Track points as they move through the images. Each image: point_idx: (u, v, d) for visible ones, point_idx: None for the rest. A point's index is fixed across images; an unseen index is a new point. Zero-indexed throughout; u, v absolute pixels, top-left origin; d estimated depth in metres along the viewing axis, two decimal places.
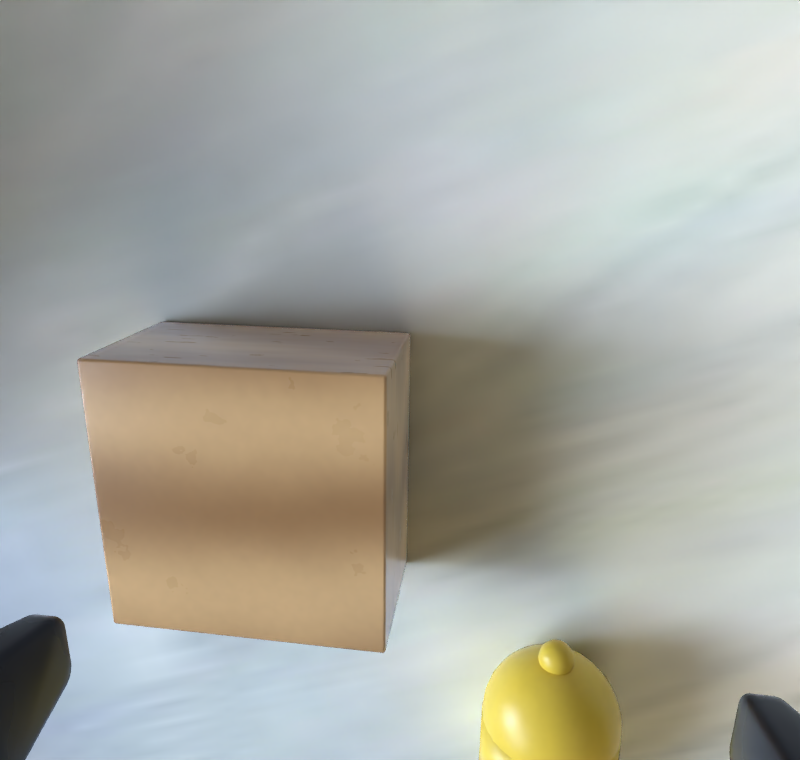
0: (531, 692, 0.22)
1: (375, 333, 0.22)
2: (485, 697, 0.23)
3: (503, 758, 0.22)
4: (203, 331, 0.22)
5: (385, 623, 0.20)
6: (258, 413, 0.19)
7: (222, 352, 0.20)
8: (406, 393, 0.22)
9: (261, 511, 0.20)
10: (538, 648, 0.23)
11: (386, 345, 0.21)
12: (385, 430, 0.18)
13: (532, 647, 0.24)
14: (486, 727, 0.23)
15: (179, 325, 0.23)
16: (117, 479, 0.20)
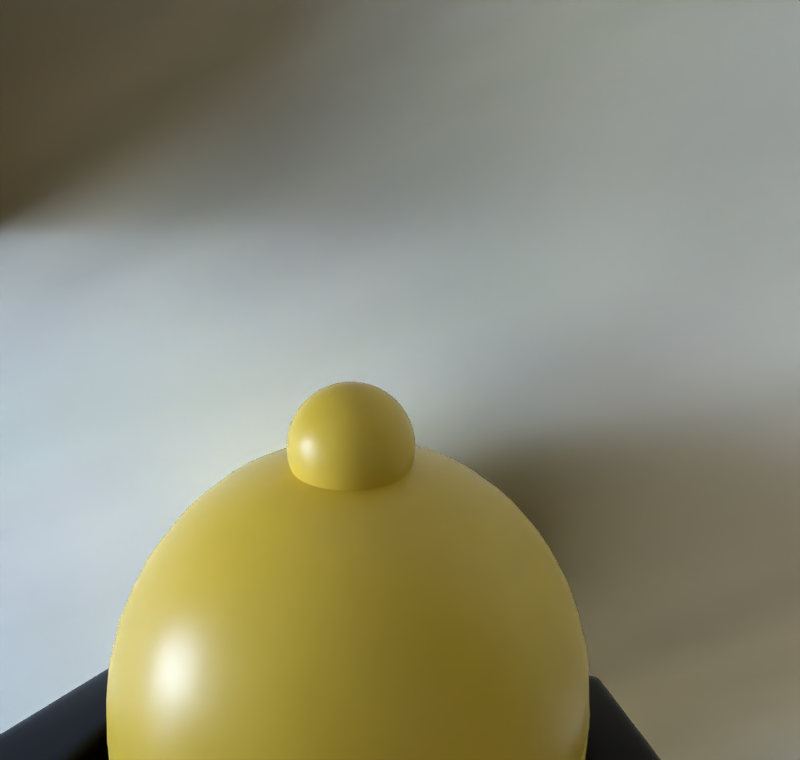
0: (225, 551, 0.05)
1: None
2: None
3: None
4: None
5: None
6: None
7: None
8: None
9: None
10: None
11: None
12: None
13: None
14: None
15: None
16: None
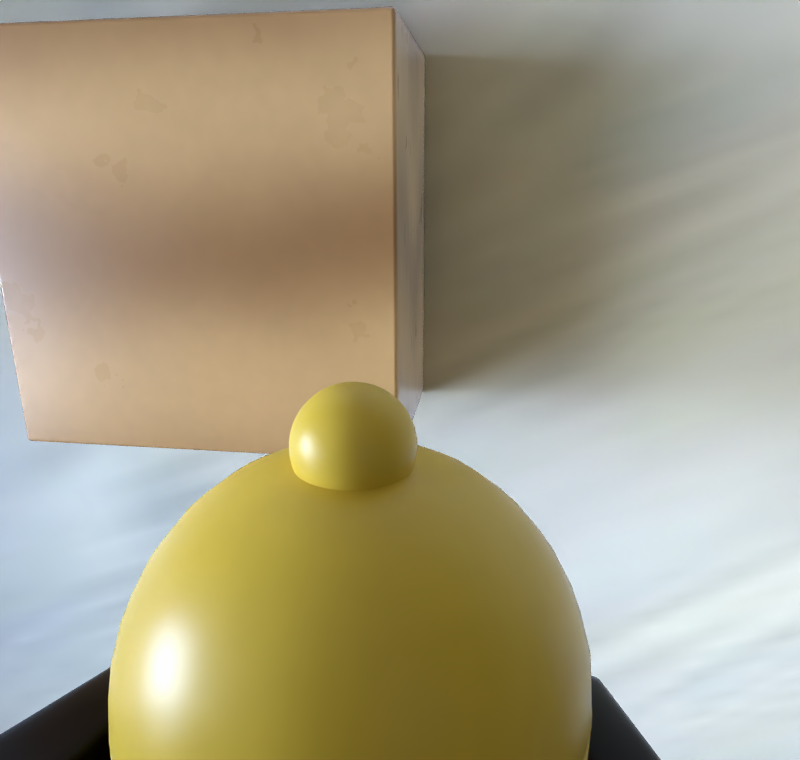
0: (226, 552, 0.05)
1: None
2: None
3: None
4: None
5: None
6: (211, 88, 0.13)
7: None
8: (420, 132, 0.17)
9: (221, 250, 0.14)
10: None
11: None
12: (395, 100, 0.13)
13: None
14: None
15: None
16: (20, 215, 0.14)
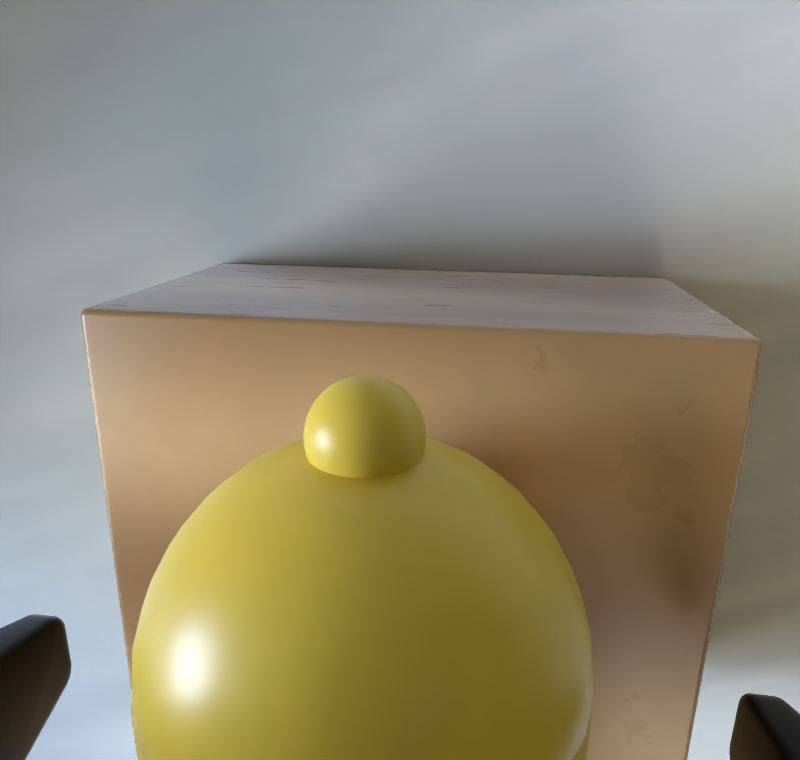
0: (248, 537, 0.06)
1: (609, 278, 0.12)
2: None
3: None
4: (304, 274, 0.12)
5: None
6: (459, 422, 0.09)
7: (367, 301, 0.10)
8: None
9: None
10: None
11: (663, 293, 0.11)
12: (741, 460, 0.09)
13: None
14: None
15: (256, 267, 0.13)
16: (158, 550, 0.10)
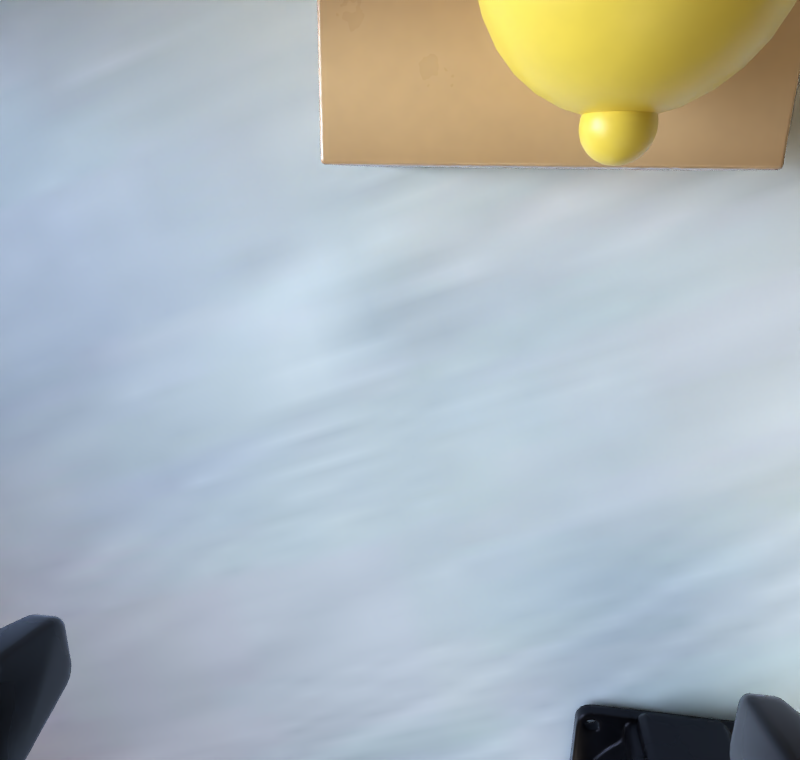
0: None
1: None
2: None
3: None
4: None
5: (792, 110, 0.12)
6: None
7: None
8: None
9: None
10: None
11: None
12: None
13: None
14: None
15: None
16: None
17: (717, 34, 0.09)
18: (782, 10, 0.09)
